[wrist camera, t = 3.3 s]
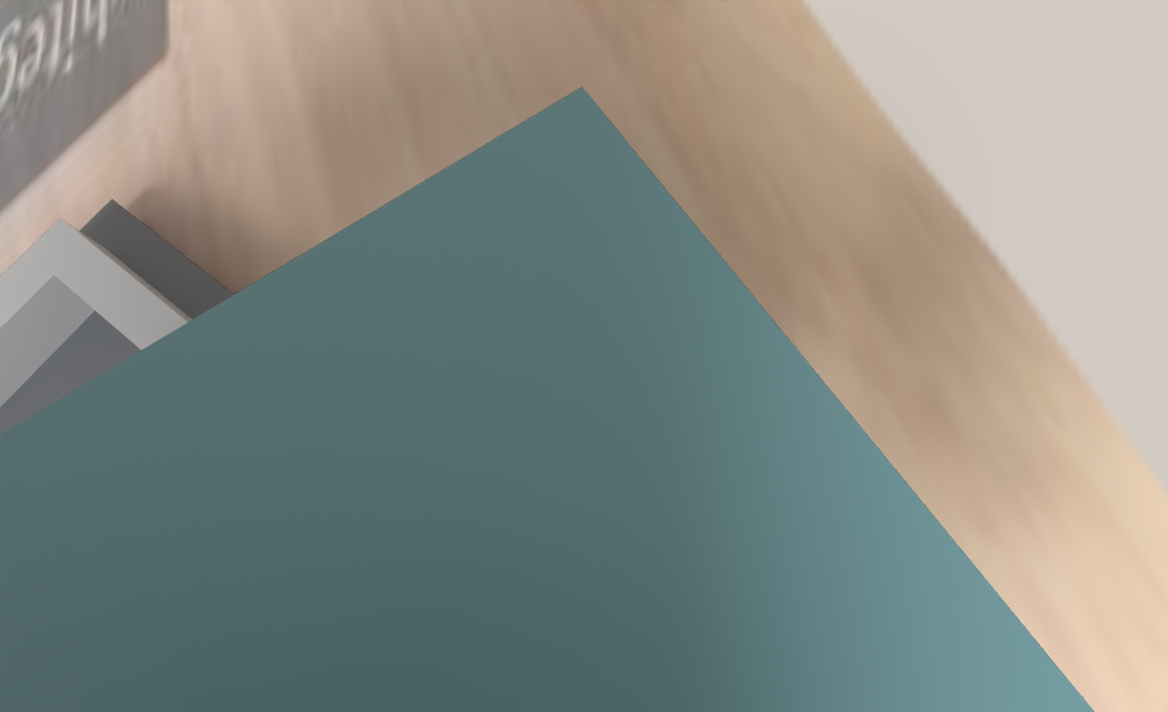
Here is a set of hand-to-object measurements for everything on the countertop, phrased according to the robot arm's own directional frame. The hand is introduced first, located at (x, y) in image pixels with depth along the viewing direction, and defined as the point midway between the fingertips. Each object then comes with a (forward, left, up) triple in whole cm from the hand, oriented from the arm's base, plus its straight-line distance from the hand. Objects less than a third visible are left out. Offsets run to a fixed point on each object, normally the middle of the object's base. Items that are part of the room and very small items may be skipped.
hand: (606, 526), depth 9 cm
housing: (-1, -1, -7) cm, 7 cm away
